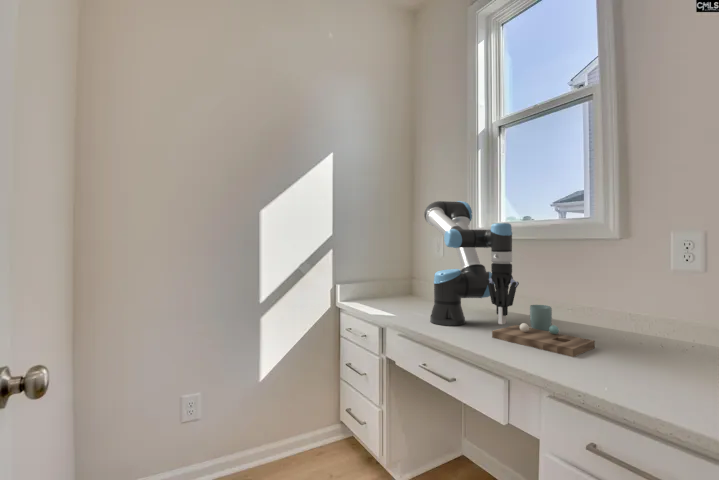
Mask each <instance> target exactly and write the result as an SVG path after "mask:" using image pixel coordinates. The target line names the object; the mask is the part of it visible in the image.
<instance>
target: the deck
mask: <svg viewBox="0 0 719 480" xmlns="http://www.w3.org/2000/svg"><path fill="white" fill-rule="evenodd" d="M491 338H493V339H496V340H501V341H505V342H508V343H509V342H510V343H512V344H513V343H514V344H517V345H522V346H525V347H526V346H527V347H530V348H535V349H537V350H541V351H542V350H543V351H547V352H550V353H556V354H560V355H563V356H567V357H572V358H574V357H577V356H579V355H581V354H584V353H586V352H588V351H590V350H591V351H592V350H593V349H595V348H596V347H595V344H596V343H595V340H593V339H589V338H584V337H578V336H573V335H569V334H568V335H567V334H562V333H559V332H558V333H557V334H551V333H550V331H544V330H538V329H533V328H532V327H529V330H528V331H527V332H522V331H521V330H520V325H518V324H514V325H510V326H506V327H503V328H498V329H494V330H492V331H491Z"/></svg>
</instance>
